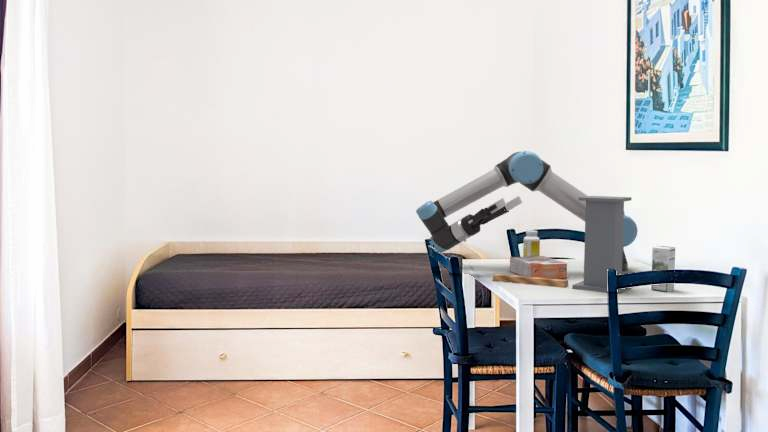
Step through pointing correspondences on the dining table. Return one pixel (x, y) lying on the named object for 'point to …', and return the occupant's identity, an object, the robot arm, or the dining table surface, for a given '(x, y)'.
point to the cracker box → (538, 267)
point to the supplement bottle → (531, 244)
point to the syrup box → (663, 264)
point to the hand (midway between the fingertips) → (512, 200)
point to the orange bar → (531, 280)
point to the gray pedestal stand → (602, 240)
